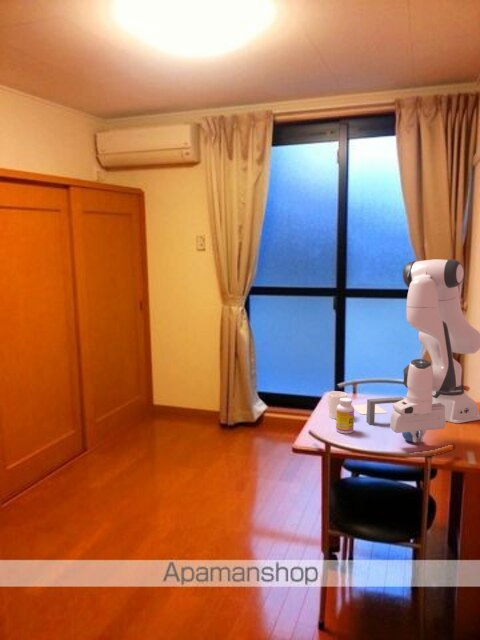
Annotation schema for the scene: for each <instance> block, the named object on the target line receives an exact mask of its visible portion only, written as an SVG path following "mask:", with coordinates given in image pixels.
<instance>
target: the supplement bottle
mask: <svg viewBox="0 0 480 640" xmlns="http://www.w3.org/2000/svg"><path fill="white" fill-rule="evenodd" d="M339 402H340V404H339V405H338V406H337V415H336V419H335V423H336V424H335V430H336V431H337V433H339V434H347V435H348V434H351V433H353V432H354V423H355V422H354V420H355V418H354V417H355V409H354V407H353V406H352V402H353V399H351V398H350V397H347V398H340V400H339Z"/></svg>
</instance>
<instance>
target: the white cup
mask: <svg viewBox="0 0 480 640" xmlns="http://www.w3.org/2000/svg"><path fill="white" fill-rule="evenodd" d="M340 398H348V393H346V392H344V391H338V390H333V391H329V392H328V393H327V399H328V400H327V405H328V406H327V407H328V408H327V409H328V417H329V418H330V419H333V420H336V415H337V406H338V405H339V404H340V402H339V400H340Z"/></svg>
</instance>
